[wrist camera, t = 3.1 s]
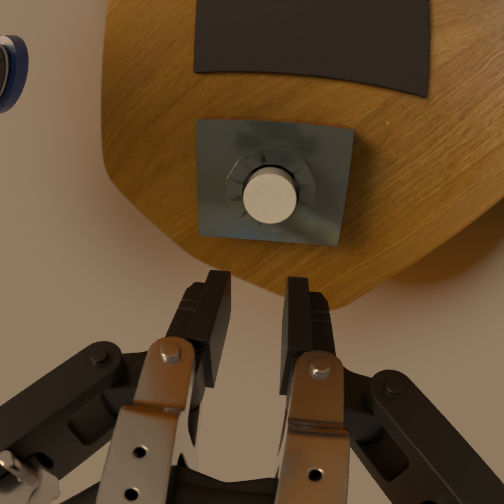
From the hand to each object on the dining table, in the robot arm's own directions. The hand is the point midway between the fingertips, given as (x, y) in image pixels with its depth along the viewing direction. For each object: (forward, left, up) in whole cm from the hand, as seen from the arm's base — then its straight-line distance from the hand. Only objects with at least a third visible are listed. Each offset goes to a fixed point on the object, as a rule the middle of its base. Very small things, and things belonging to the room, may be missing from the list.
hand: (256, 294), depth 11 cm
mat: (+3, +17, -17) cm, 24 cm away
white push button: (0, 0, -12) cm, 12 cm away
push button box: (0, 0, -17) cm, 17 cm away
